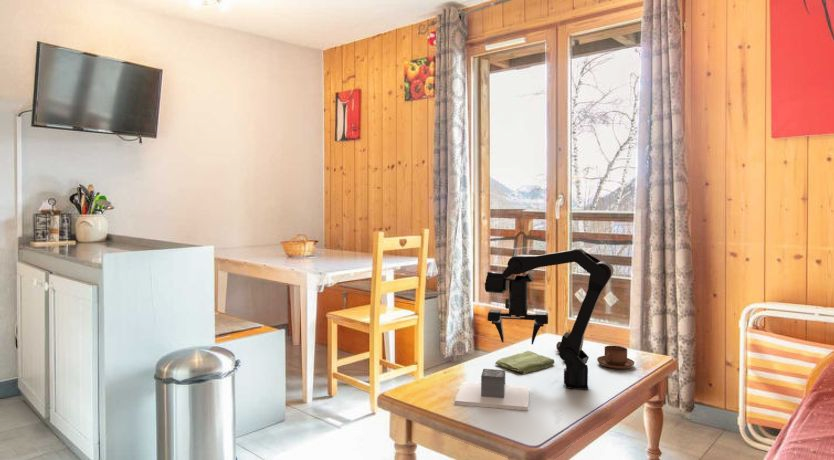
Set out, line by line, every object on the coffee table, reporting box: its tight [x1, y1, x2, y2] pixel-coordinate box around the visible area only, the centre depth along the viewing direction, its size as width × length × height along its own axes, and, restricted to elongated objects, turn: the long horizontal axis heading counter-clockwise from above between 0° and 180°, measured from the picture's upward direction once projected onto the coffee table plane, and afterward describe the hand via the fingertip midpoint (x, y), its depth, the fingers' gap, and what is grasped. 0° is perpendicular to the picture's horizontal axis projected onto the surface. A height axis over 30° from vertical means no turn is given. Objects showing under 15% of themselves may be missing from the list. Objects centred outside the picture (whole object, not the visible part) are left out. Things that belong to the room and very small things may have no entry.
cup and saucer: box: [596, 345, 635, 370], centre depth 185 cm, size 12×12×6 cm
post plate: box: [454, 381, 530, 411], centre depth 156 cm, size 20×16×5 cm
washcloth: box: [495, 350, 555, 375], centre depth 185 cm, size 13×18×3 cm
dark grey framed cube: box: [480, 368, 506, 398], centre depth 156 cm, size 6×6×6 cm
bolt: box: [555, 341, 561, 353], centre depth 196 cm, size 6×5×15 cm
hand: (517, 343), depth 172 cm, fingers open, 9 cm apart
